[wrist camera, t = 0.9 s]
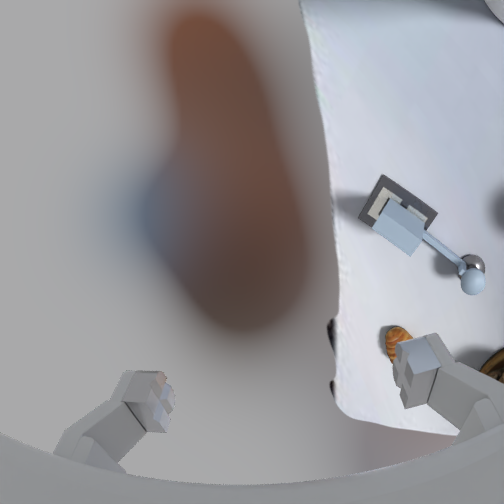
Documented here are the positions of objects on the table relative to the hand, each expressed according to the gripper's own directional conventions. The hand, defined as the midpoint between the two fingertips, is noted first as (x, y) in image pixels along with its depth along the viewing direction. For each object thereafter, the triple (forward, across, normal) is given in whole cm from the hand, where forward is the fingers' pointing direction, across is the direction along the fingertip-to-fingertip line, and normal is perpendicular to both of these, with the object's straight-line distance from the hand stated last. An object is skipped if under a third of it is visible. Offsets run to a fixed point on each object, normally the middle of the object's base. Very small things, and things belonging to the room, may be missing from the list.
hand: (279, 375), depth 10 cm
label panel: (+39, -20, +10) cm, 45 cm away
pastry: (+37, -22, +37) cm, 57 cm away
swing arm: (+34, -25, +13) cm, 45 cm away
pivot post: (+32, -32, +18) cm, 48 cm away
